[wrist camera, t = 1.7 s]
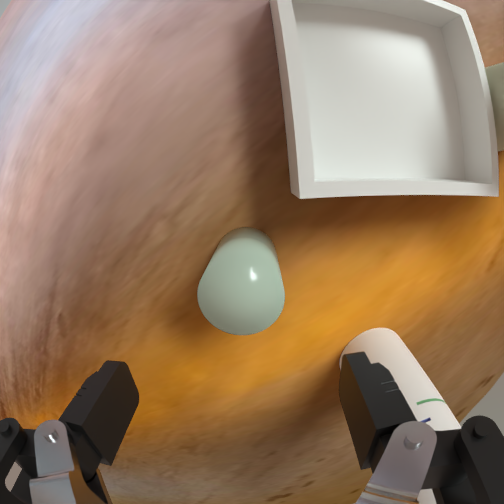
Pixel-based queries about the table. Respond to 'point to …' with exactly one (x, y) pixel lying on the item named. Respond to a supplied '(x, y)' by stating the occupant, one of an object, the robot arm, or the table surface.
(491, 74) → the can
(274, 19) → the grey tub
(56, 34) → the table surface
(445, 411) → the cylindrical container
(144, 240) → the table surface
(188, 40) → the table surface
